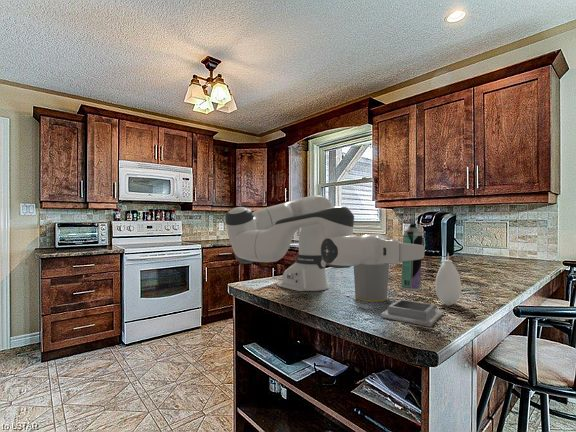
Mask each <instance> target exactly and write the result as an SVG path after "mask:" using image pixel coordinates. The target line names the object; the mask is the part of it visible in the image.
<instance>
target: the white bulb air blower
mask: <svg viewBox="0 0 576 432" xmlns="http://www.w3.org/2000/svg"><path fill="white" fill-rule="evenodd" d="M446 257H447V258H446V259H444V260H443V263H442V264H441V265H440V267H439V269H438V271H437V274H436V276H435V277H436V278H435V285H434V288H435V293H436V296H437V298H438V300H439V301H440V302H441V303H442V304H444V305H445V306H452V305H454V304H455V303H456V302H458V300H459V299H460V296H461V293H462V282H461V277H460V274H459V272H458V270H457V267H456V266H455V264H454V263H453V260H451V259H450V254H449V252H447V256H446Z"/></svg>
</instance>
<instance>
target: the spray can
mask: <svg viewBox="0 0 576 432" xmlns="http://www.w3.org/2000/svg"><path fill="white" fill-rule="evenodd" d="M402 241H403V242H402V243H409V244H418V245H423V232H422V231H421V230H420V229H419V227H418V226H417V223H410V225H409V226H408V228H407V229H406V230H403V237H402ZM422 259H423V258H422ZM422 259H419V260H412V261H401V281H400V282H401V284H400V285H401V287H400V288H401V290H404V291H409V292H410V291H411V292H420V291H421V283H422V281H421V280H422Z"/></svg>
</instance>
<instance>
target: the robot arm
mask: <svg viewBox="0 0 576 432" xmlns="http://www.w3.org/2000/svg"><path fill="white" fill-rule="evenodd" d="M354 215H355V214H353V212H352V211H351V210H350V209H349V208H348V207H347V206H341V205H335V206H332V203H331V202H330V200H329V199H328V198H326V197H325V196H322V195H319V194H315V195H309V196H305V197H301V198H297V199H293V200H290V201H286V202H283V203H282V202H281V203H279V204H276V205H270V206H267V207H263V208H260V209H257V210H254V211H252V209H251V208H248V207H247V206H238V207H234V208H231V209H230V210H228V211H227V212H226V213H225V224H226V229H227V234H228V239H229V242H230V246H231V248H232V250H233V255H234V257H235V260H237V262H239V263H241V264H244V265H245V264H246V265H248V264H252V263H254V262H255V263H256V262H257V263H273V262H274V263H276V262H278V261H279V260H281V259H283V258H284V257H285V256H286V254H287V252H288V251H289V248H290V247H291V243H292V240H293V237H294V235H295V233H296V232H297V230H299V229H300V232H299V234H298V254H296V255H293V259H295V261H294V263H293V264H291V265H290V266H288V268H287V269H285V270H284V271H283V273H282V276H281V277H282V278H281V279H282V280H281V281H278V282H277V283H276V286H277V287H281V288H284V289H288V290H291V291H292V290H293V291H297V292H309V291H310V292H318V291H324V290H328V289H329V284H328V281H327V274H326V273H327V272H326V265H327V266H328V267H330V268H333V269H350V268H351V267H354V266H356V265H359V264H364V265H382V264H389V265H398V264H399V263H400V262H402V261H412V260H419V259H424V258H425V246H424V245H423V244H422V245H418V244H409V243H403V242H401V241H399V240H396V239H393V238H389V237H387V236H385V235H383V234H377V233H376V234H375V233H374V234H370V233H369V234H362V235H357V234H354V226H355V225H354V224H355V216H354Z"/></svg>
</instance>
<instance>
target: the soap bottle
mask: <svg viewBox="0 0 576 432" xmlns="http://www.w3.org/2000/svg"><path fill="white" fill-rule="evenodd" d="M389 268H390V264H382V265H364V264H359V265H356V266H353V279H354V297H355V299H357V300H360V301H364V302H376V303H378V302H384V301H387V299H388V288H389V287H388V286H389V285H388V284H389V271H390V269H389Z"/></svg>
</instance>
